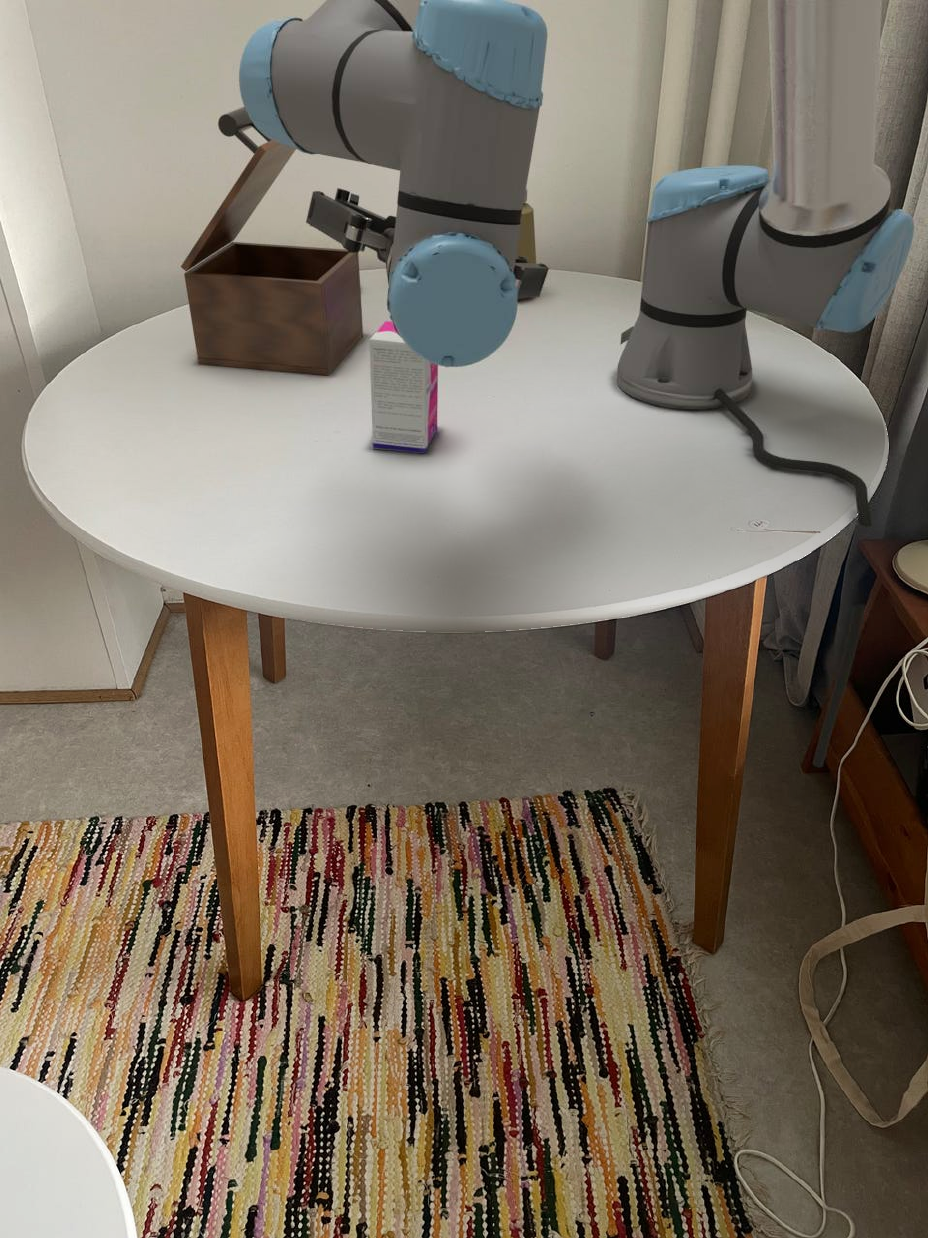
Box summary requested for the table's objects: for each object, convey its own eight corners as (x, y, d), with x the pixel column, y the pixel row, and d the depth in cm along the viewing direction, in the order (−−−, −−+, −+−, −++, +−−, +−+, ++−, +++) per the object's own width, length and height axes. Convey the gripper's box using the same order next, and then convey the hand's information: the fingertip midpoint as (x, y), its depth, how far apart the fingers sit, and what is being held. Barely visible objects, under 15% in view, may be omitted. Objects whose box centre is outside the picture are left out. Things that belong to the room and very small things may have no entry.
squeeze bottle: (469, 290, 144) (470, 155, 133) (519, 283, 146) (523, 150, 136) (494, 307, 138) (497, 167, 127) (545, 299, 140) (552, 161, 130)
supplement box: (427, 454, 101) (425, 343, 94) (371, 449, 102) (365, 339, 95) (440, 430, 105) (439, 323, 99) (386, 425, 106) (381, 319, 100)
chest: (363, 336, 129) (358, 249, 122) (328, 375, 118) (320, 283, 111) (243, 326, 132) (232, 241, 125) (198, 363, 121) (183, 273, 114)
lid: (310, 128, 115) (266, 85, 114) (265, 151, 105) (216, 104, 103) (234, 240, 125) (192, 202, 123) (185, 271, 114) (139, 230, 113)
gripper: (253, 268, 70) (278, 233, 88) (584, 370, 75) (541, 316, 94) (277, 155, 66) (297, 143, 85) (620, 269, 72) (568, 234, 90)
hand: (425, 234), depth 89 cm, fingers open, 13 cm apart
